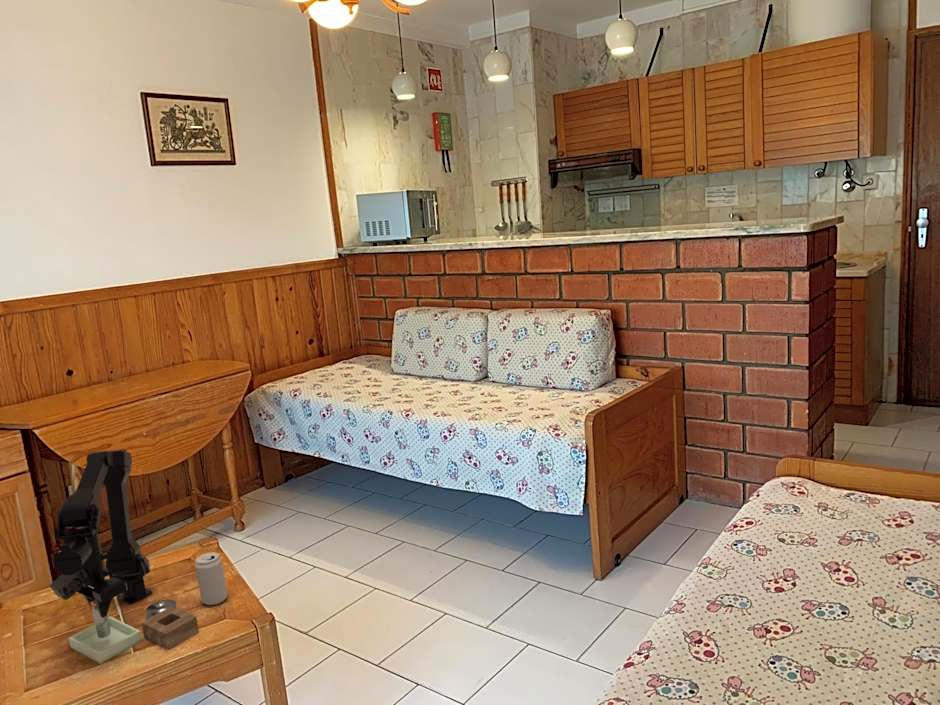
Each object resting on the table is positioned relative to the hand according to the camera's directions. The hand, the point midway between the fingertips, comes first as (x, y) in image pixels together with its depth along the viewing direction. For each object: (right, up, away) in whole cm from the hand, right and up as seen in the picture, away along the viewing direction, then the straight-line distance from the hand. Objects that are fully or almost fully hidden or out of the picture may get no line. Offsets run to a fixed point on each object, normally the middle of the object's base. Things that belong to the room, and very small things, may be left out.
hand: (100, 615), depth 173 cm
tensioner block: (+15, -6, +3) cm, 17 cm away
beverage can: (+21, -2, +17) cm, 27 cm away
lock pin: (0, -5, +1) cm, 5 cm away
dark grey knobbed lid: (+10, -4, +12) cm, 16 cm away
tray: (+1, -7, +1) cm, 8 cm away
